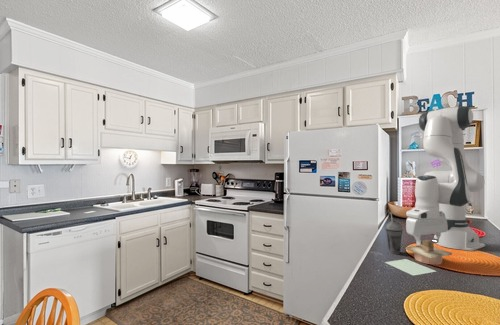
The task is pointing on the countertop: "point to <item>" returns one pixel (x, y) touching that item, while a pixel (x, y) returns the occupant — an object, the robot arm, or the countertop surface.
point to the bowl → (428, 259)
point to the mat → (410, 267)
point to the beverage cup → (394, 236)
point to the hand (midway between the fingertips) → (427, 243)
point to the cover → (428, 250)
